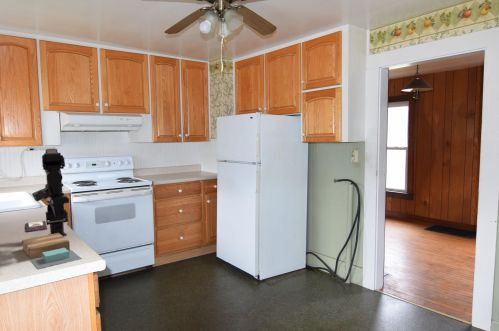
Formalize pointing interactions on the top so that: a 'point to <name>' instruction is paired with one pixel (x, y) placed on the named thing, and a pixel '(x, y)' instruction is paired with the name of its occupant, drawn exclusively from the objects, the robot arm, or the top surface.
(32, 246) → the oak deck
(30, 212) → the top surface
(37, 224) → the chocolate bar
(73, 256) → the slate mat
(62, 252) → the teal tile
